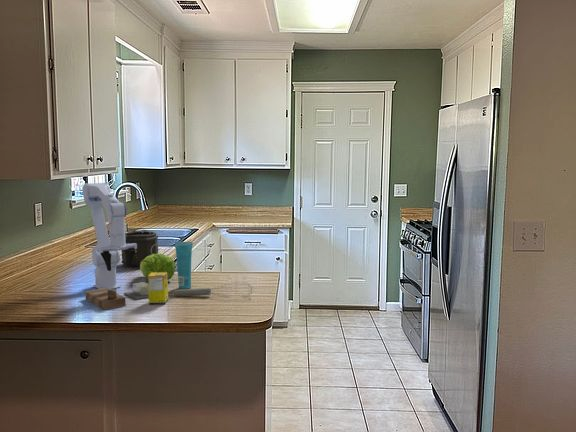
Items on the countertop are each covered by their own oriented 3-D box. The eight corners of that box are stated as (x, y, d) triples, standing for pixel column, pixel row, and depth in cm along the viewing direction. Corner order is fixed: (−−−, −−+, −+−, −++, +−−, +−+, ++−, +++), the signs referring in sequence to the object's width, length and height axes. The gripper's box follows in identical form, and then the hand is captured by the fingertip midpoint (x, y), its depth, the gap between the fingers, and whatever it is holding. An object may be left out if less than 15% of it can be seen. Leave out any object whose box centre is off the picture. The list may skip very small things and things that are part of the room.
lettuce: (163, 260, 242) (138, 247, 235) (185, 262, 225) (158, 248, 217) (151, 285, 238) (125, 273, 231) (172, 290, 221) (144, 276, 213)
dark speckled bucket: (156, 260, 271) (155, 230, 269) (161, 267, 254) (160, 235, 252) (120, 262, 265) (119, 231, 263) (122, 269, 248) (121, 237, 246)
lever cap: (133, 292, 205) (132, 283, 204) (143, 290, 208) (143, 281, 207) (140, 296, 199) (140, 287, 199) (151, 294, 202) (151, 285, 202)
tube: (194, 286, 217) (193, 240, 214) (192, 289, 212) (191, 242, 209) (176, 286, 217) (175, 240, 214) (174, 289, 212) (173, 242, 210)
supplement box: (168, 300, 196) (167, 271, 195) (165, 304, 190) (164, 275, 189) (152, 300, 196) (151, 271, 194) (148, 305, 190) (147, 275, 189)
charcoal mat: (124, 294, 204) (124, 292, 204) (148, 289, 211) (148, 288, 211) (136, 300, 196) (136, 298, 196) (160, 295, 203) (160, 293, 202)
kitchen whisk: (170, 294, 205) (170, 279, 204) (253, 296, 203) (253, 280, 202) (166, 298, 199) (165, 282, 198) (251, 300, 197) (251, 284, 197)
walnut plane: (85, 299, 197) (85, 283, 197) (106, 295, 203) (106, 280, 202) (103, 309, 184) (103, 293, 183) (125, 305, 189) (125, 289, 188)
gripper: (102, 237, 192) (104, 273, 194) (139, 233, 202) (141, 268, 203) (95, 235, 198) (97, 270, 199) (132, 231, 207) (133, 265, 208)
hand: (118, 269), depth 201 cm, fingers open, 7 cm apart
